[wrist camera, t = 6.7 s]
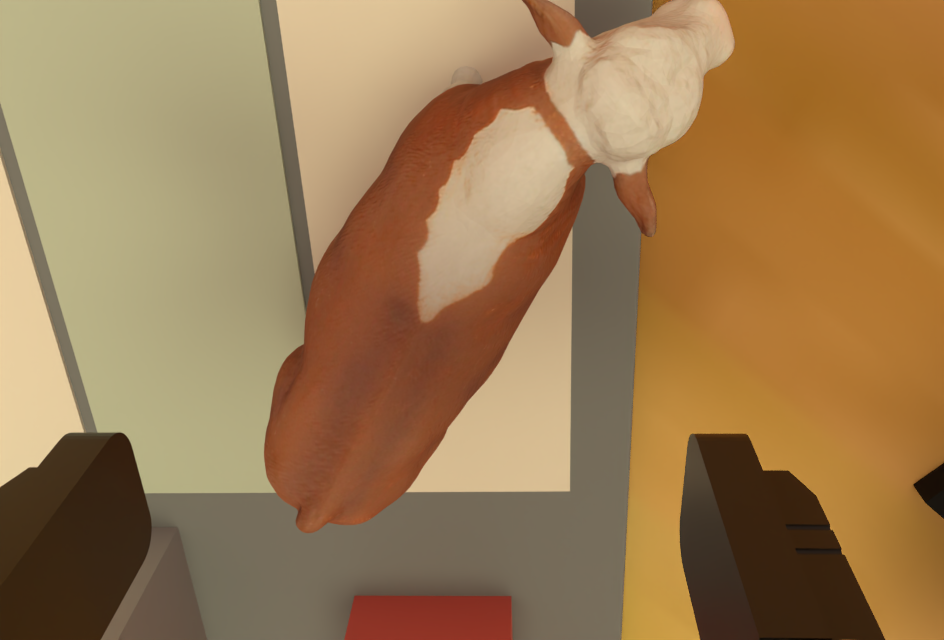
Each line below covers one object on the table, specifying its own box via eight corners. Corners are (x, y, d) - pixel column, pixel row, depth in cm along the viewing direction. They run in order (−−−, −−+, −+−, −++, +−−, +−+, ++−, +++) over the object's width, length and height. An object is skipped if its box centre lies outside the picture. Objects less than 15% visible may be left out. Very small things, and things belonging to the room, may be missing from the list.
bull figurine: (706, 6, 19) (823, 72, 12) (397, 412, 24) (347, 631, 17) (550, -114, 18) (574, -122, 11) (264, 335, 24) (152, 531, 16)
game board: (612, 757, 31) (631, 930, 26) (-193, 744, 33) (-325, 903, 28) (655, -153, 18) (712, -171, 13) (-691, -82, 20) (-1119, -73, 14)
